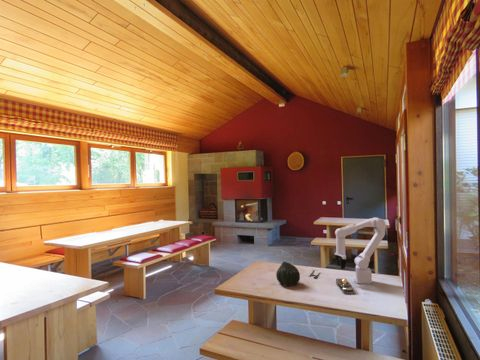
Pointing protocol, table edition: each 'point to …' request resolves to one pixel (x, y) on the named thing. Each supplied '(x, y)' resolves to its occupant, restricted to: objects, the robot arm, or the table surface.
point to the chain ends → (345, 290)
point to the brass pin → (344, 282)
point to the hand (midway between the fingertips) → (340, 267)
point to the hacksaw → (315, 275)
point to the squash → (287, 274)
